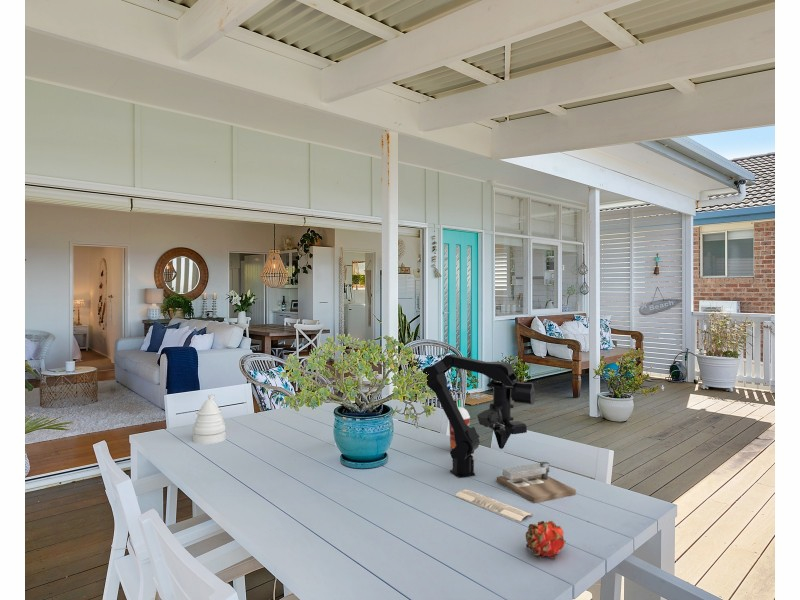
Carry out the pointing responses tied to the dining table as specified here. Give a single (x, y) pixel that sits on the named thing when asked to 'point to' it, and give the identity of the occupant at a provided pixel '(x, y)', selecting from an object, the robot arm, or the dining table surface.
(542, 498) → the label board
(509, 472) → the swing bar
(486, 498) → the beige long curved strip
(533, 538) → the dragon fruit
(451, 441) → the smoothie
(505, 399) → the robot arm
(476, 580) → the dining table surface
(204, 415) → the honey pot
